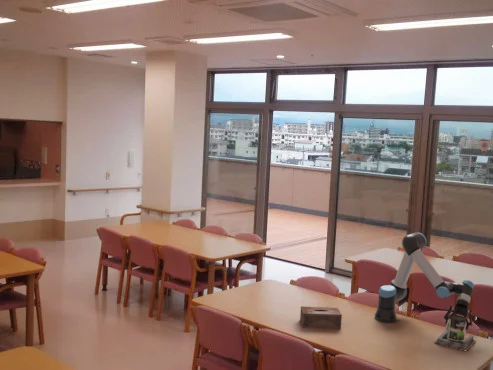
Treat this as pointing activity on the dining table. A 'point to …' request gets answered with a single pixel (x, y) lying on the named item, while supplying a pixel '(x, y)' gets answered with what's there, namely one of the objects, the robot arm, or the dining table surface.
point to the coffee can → (456, 327)
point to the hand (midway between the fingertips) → (455, 331)
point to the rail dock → (455, 344)
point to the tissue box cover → (320, 317)
